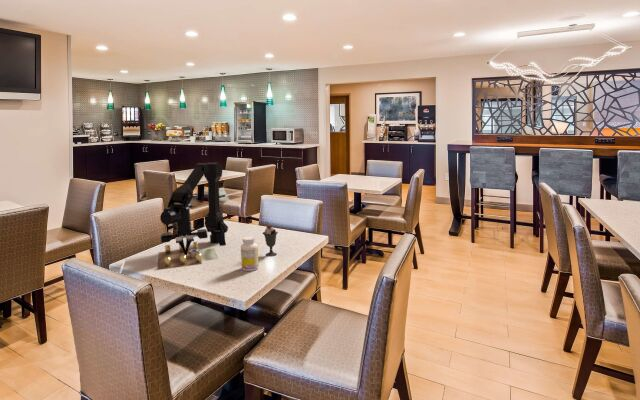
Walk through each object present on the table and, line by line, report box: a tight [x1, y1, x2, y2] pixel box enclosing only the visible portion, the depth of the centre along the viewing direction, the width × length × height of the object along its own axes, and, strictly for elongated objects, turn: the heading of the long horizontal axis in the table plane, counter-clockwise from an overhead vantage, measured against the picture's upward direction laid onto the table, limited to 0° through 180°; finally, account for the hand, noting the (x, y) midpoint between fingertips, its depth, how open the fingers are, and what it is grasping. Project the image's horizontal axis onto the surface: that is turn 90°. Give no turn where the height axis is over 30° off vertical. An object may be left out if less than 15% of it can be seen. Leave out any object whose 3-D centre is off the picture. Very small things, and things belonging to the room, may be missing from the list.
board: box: [157, 247, 219, 271], centre depth 174 cm, size 24×24×1 cm
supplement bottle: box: [240, 235, 260, 272], centre depth 160 cm, size 7×7×13 cm
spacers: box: [164, 241, 203, 267], centre depth 173 cm, size 14×20×4 cm
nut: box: [188, 248, 203, 258], centre depth 174 cm, size 6×5×3 cm
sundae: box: [262, 221, 279, 257], centre depth 177 cm, size 7×7×15 cm
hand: (185, 254), depth 173 cm, fingers closed
